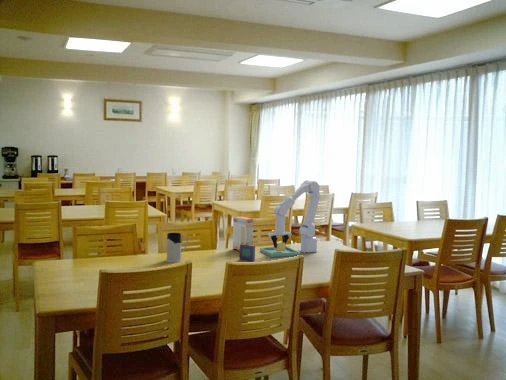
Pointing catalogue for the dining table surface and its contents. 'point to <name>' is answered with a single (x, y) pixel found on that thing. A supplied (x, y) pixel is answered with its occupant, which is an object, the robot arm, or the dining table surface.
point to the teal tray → (273, 253)
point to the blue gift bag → (247, 252)
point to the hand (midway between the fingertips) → (279, 247)
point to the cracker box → (242, 231)
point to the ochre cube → (280, 246)
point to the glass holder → (174, 247)
